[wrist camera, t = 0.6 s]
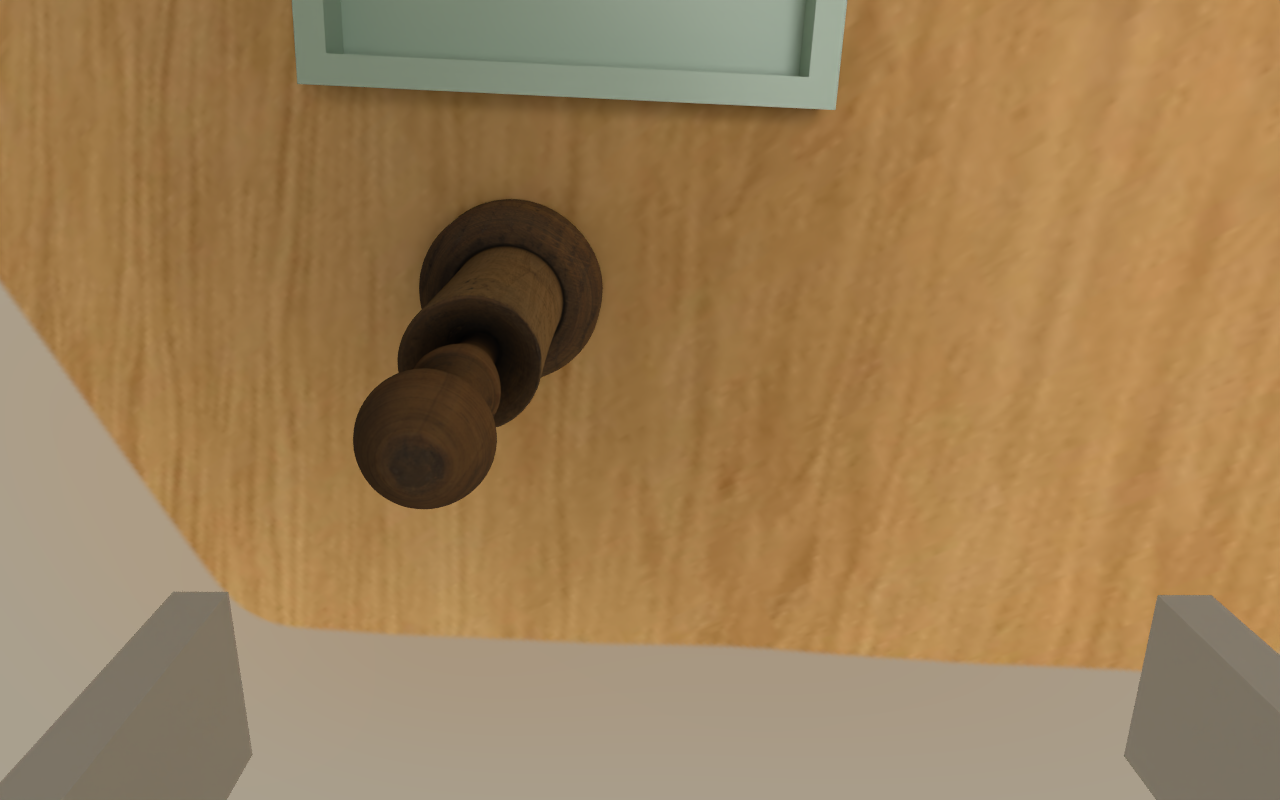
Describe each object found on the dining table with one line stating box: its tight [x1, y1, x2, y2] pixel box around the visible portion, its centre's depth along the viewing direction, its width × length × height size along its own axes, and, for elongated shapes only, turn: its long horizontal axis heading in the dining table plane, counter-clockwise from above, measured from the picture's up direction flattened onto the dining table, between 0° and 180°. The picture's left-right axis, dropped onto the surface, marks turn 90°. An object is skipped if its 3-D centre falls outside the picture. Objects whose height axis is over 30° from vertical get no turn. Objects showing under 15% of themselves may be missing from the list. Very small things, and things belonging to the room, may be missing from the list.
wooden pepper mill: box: [353, 200, 602, 509], centre depth 27 cm, size 7×6×18 cm
